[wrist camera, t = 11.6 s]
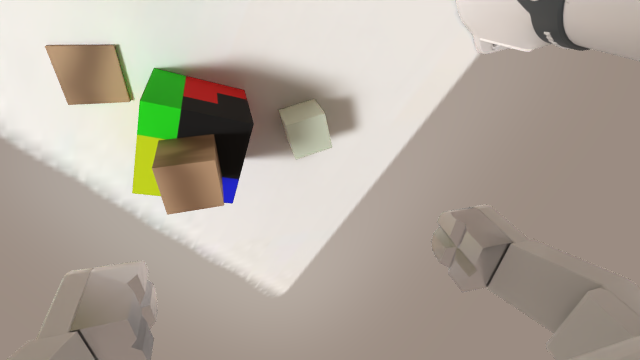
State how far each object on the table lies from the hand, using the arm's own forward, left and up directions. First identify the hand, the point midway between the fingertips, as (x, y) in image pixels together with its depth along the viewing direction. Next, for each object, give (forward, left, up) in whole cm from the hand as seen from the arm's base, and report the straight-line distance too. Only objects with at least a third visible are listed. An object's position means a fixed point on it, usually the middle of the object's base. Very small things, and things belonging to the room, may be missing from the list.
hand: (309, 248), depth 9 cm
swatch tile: (+15, +5, -34) cm, 38 cm away
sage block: (-8, +12, -34) cm, 37 cm away
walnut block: (+5, +11, -24) cm, 27 cm away
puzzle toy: (+5, +11, -34) cm, 36 cm away
